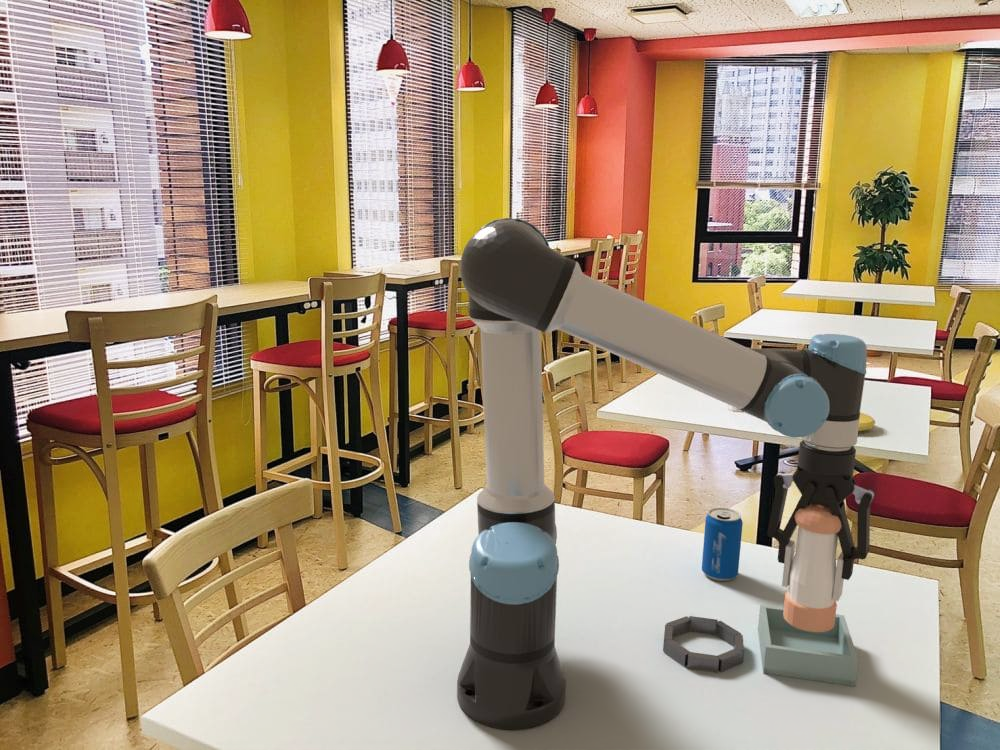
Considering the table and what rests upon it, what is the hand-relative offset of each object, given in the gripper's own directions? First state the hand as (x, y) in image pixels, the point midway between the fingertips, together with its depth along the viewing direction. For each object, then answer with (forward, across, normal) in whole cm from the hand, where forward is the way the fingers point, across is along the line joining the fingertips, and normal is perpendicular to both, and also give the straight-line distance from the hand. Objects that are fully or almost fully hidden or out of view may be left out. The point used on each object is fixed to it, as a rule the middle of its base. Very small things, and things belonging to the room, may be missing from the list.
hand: (811, 589), depth 122 cm
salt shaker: (+5, 0, 0) cm, 5 cm away
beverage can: (+11, +20, -18) cm, 29 cm away
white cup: (+11, +52, -132) cm, 142 cm away
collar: (+11, +14, +7) cm, 19 cm away
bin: (+11, 0, 0) cm, 11 cm away
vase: (+12, +20, -131) cm, 133 cm away
